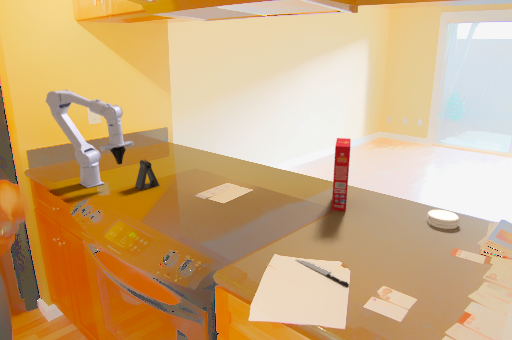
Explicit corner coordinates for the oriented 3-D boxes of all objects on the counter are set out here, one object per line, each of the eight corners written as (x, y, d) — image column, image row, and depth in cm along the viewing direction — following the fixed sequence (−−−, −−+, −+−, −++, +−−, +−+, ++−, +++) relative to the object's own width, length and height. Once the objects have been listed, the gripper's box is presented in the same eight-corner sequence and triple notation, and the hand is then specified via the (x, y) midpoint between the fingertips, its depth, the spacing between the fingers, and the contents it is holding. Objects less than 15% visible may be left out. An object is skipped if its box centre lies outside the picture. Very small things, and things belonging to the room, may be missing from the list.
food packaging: (345, 211, 142) (350, 146, 135) (331, 210, 143) (335, 146, 136) (346, 197, 156) (350, 138, 149) (333, 196, 157) (336, 138, 150)
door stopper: (140, 190, 165) (137, 164, 162) (135, 186, 169) (132, 161, 166) (159, 186, 170) (157, 160, 167) (154, 182, 175) (152, 157, 171)
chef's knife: (298, 257, 110) (291, 259, 109) (299, 253, 110) (292, 256, 108) (354, 284, 97) (347, 288, 95) (354, 280, 97) (347, 284, 95)
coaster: (456, 232, 125) (457, 222, 124) (424, 225, 130) (425, 216, 129) (459, 222, 133) (460, 212, 132) (428, 215, 138) (430, 207, 137)
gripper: (103, 137, 156) (107, 168, 160) (135, 132, 166) (139, 162, 169) (96, 135, 161) (100, 166, 164) (128, 130, 170) (131, 159, 174)
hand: (119, 163), depth 167 cm, fingers closed
